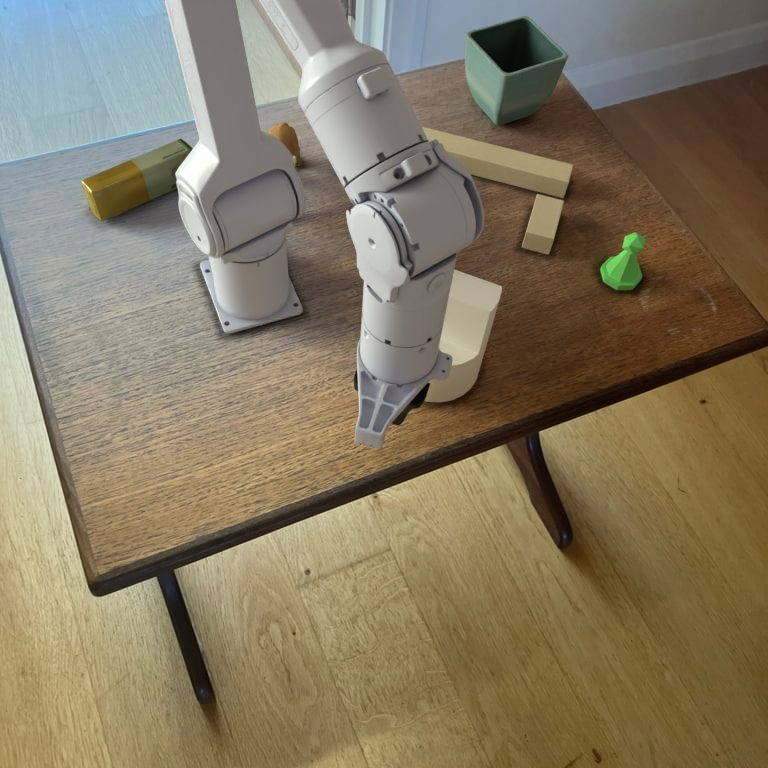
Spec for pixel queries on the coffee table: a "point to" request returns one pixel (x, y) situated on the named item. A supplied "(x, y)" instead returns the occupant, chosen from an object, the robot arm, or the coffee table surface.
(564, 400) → the coffee table surface
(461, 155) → the bay
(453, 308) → the base with upright slab
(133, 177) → the medication box
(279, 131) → the lion figurine
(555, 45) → the flower pot
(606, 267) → the game piece
